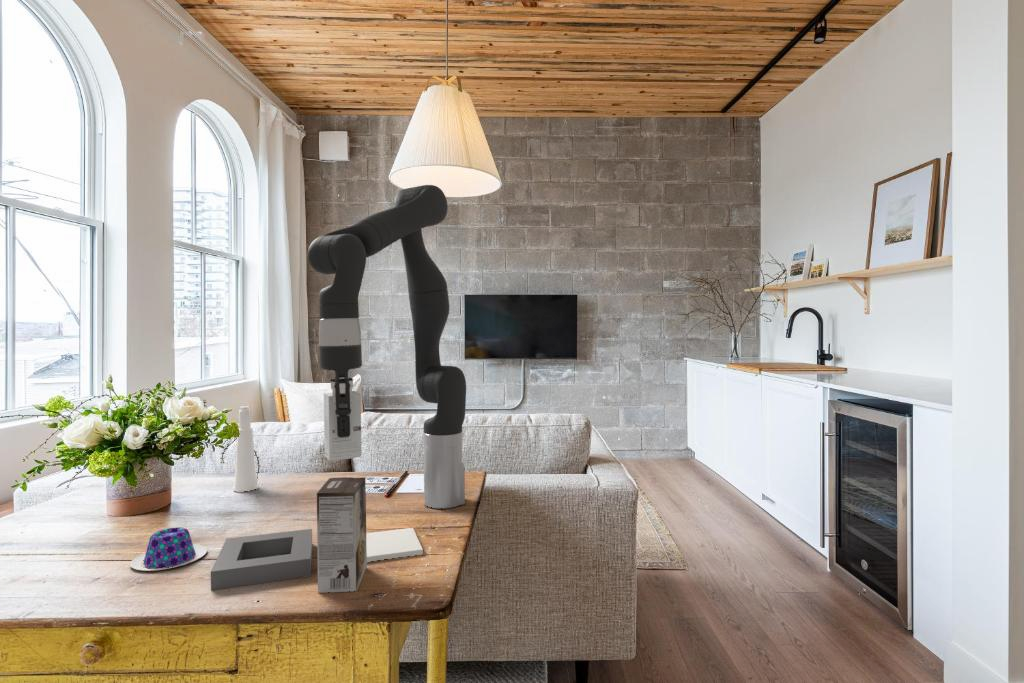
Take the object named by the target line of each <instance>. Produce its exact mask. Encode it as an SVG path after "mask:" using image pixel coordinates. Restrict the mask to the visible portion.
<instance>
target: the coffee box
mask: <svg viewBox="0 0 1024 683" xmlns="http://www.w3.org/2000/svg"><path fill="white" fill-rule="evenodd" d="M366 490H367V488H366V477H350V476H349V477H345V476H344V477H343V476H342V477H330V478H328V479H327V481H325V483H324V484H323V485H322V486H321V488H320V489H319V490H318V491H317V492H316V527H317V528H316V531H317V532H316V534H317V537H316V538H317V542H316V543H317V545H316V546H317V549H316V550H317V554H316V556H317V560H316V561H317V593H318V594H322V593H323V594H324V593H325V594H326V593H328V592H330V593H350V592H351V593H352V592H353V593H354V591H355V592H358V590H359V586H361V585H360V584H361V583H362V580H363V577H364V575H365V574H366V573H365V572H366V570H367V568H368V562H367V548H366V533H367V501H366V500H367V495H366V494H367V492H366ZM349 591H350V592H349Z"/></svg>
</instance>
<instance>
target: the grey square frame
mask: <svg viewBox="0 0 1024 683" xmlns="http://www.w3.org/2000/svg"><path fill="white" fill-rule="evenodd" d="M312 553H313V528H307V529H297V530H291V531H289V530H288V531H282V532H281V531H280V532H274V533H264V534H254V535H253V534H252V535H248V536H245V535H244V536H238V537H237V536H236V537H230V538H225V541H224V543H223V545H222V547H221V549H220V552H219V553H218V555H217V556H216V557H217V558H216V560H215V562H214V563H213V566H212V567H211V570H210V591H213V590H214V591H215V590H221V589H222V590H223V589H229V588H230V589H231V588H235V587H236V588H237V587H242V586H243V587H244V586H250V585H258V584H264V583H271V582H278V581H284V580H285V581H286V580H293V579H300V578H308V577H311V574H312V573H311V572H312V558H313V557H312V556H313V554H312Z"/></svg>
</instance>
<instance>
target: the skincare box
mask: <svg viewBox="0 0 1024 683" xmlns="http://www.w3.org/2000/svg"><path fill="white" fill-rule="evenodd" d="M361 396H362V394H361V393H360V392H358V391H355V390H352V403H351V404H350V409H351V414H350V436H349V437H338V433H337V417H336V415H335V410H336V405H335V404H333V393H332V392H324V393H323V426H324V427H323V428H324V432H323V433H324V434H323V435H324V457H325V458H326V459H327V460H328V461H329V462H333V461H341V460H349V459H356V458H361V457H362V454H363V453H362V412H361V411H362V402H361V401H362V397H361ZM339 408H347V404H339Z"/></svg>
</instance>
